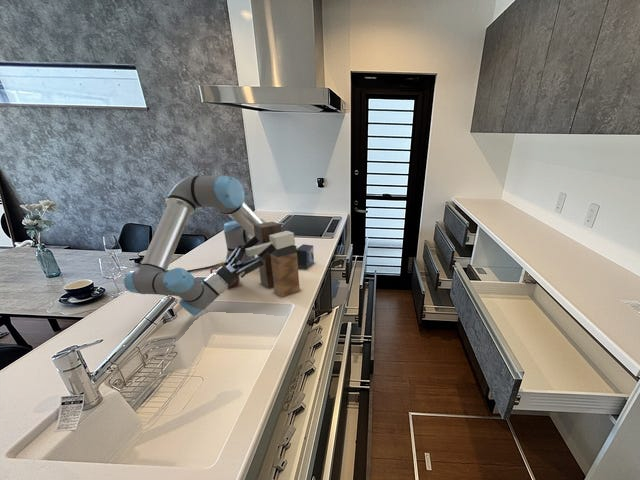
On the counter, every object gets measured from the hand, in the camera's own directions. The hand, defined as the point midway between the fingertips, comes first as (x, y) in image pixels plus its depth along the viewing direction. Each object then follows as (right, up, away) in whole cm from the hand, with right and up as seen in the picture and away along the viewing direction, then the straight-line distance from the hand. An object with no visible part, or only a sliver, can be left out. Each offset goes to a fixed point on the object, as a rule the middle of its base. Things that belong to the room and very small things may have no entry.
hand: (265, 242), depth 120 cm
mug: (-23, -18, +19) cm, 35 cm away
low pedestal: (+5, -20, +15) cm, 25 cm away
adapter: (+5, -4, +7) cm, 10 cm away
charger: (+2, -2, +3) cm, 5 cm away
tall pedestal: (-4, -17, +22) cm, 28 cm away
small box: (+7, -8, +44) cm, 45 cm away
